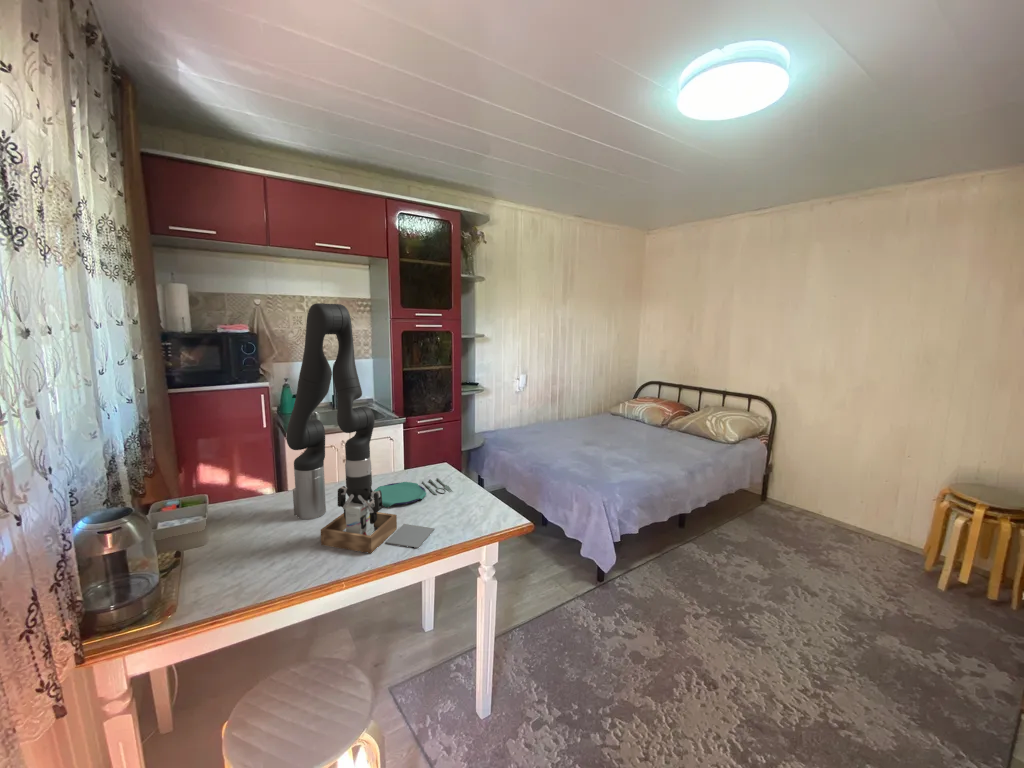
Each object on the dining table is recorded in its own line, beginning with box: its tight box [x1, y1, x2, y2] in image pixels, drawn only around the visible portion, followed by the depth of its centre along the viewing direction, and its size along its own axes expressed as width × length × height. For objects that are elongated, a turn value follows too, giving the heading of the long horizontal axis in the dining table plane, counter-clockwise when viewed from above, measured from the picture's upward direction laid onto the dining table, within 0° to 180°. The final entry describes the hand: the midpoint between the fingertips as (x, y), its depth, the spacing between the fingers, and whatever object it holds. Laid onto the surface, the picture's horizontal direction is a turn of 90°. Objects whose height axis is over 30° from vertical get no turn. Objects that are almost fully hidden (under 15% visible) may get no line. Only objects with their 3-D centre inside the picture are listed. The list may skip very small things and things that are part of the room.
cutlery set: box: [373, 477, 454, 508], centre depth 165 cm, size 20×30×2 cm, turn 123°
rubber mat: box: [384, 523, 436, 549], centre depth 133 cm, size 11×12×1 cm
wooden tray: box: [320, 511, 398, 554], centre depth 132 cm, size 17×15×5 cm
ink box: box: [345, 500, 375, 536], centre depth 131 cm, size 9×5×12 cm, turn 168°
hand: (360, 521), depth 131 cm, fingers open, 8 cm apart
